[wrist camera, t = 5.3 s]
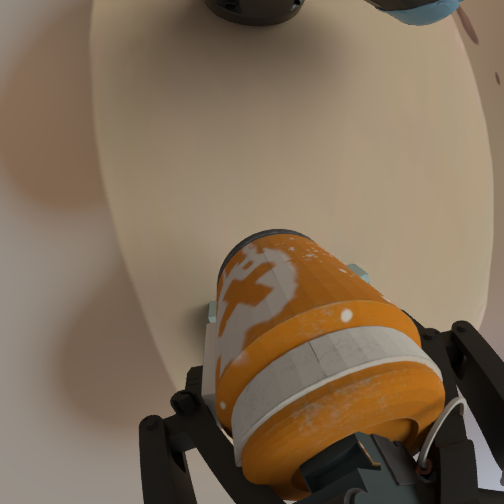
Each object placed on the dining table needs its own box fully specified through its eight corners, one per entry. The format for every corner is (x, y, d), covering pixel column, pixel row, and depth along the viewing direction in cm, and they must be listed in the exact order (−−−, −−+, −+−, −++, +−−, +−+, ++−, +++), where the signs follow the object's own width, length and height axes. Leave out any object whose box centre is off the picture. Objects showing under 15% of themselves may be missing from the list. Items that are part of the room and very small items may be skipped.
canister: (268, 202, 20) (562, 419, 1) (362, 286, 23) (530, 451, 4) (194, 292, 21) (157, 585, 2) (294, 358, 24) (374, 561, 5)
